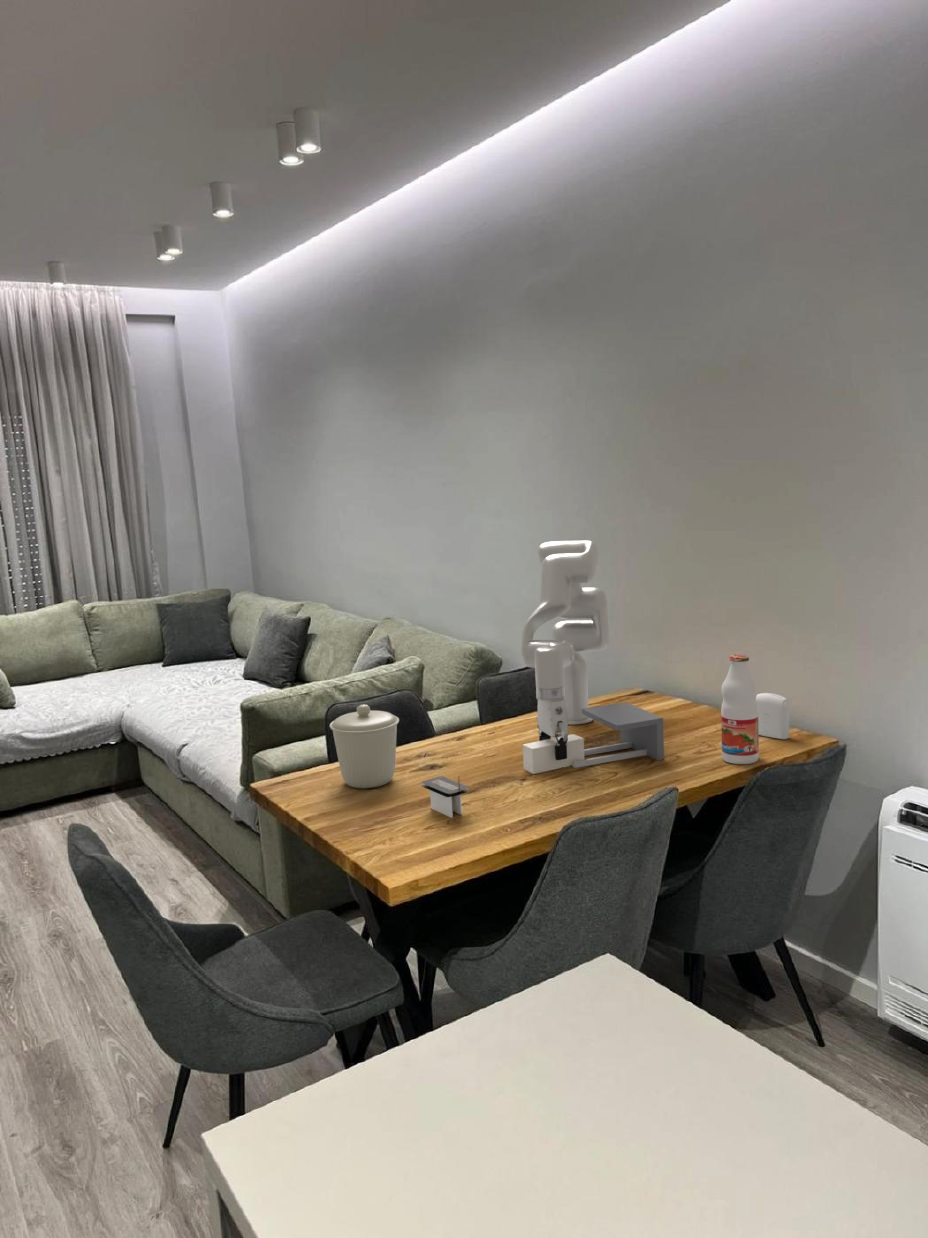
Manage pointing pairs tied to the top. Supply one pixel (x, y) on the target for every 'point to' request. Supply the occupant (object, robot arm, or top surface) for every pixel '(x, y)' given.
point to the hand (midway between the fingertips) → (553, 754)
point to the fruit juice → (739, 713)
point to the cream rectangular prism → (551, 754)
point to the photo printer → (773, 715)
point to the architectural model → (445, 795)
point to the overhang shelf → (626, 733)
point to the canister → (366, 746)
